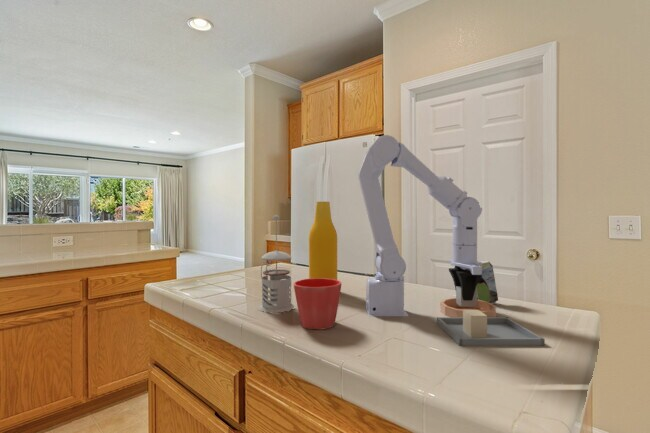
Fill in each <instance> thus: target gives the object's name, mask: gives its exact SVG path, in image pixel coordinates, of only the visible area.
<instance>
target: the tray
mask: <svg viewBox="0 0 650 433" xmlns="http://www.w3.org/2000/svg"><path fill="white" fill-rule="evenodd" d="M436 324H437V325H438V326H439V327H440V328H441V329H442V330H443V331H444V332H445V333H446V334H447V335H448V336H449V337H450V338H451V339H452V340H453V341H454V342H455V343H456V344H457V345H458V346H459V347H484V346H485V347H486V346H487V347H499V346H500V347H507V346H508V347H513V346H514V347H516V346H517V347H522V346H523V347H525V346H526V347H530V346H531V347H534V346H535V347H536V346H537V347H538V346H539V347H541V346H542V347H544V346H545V345H546V344H545V343H546V342H545V338H543V337H542V336H540V335H538V334H537V333H535V332H534V331H531V330H530V329H528V328H527V327H524V326H523V325H521V324H519V323H518V322H516V321H514V320H513V319H511V318H510V317H505V316H504V317H503V316H502V317H500V316H499V317H497V316H496V317H487V338H471V337H470V336H469V335H467V334H466V333H465V332H464V331H463V317H448V316H445V317H441V316H440V317H436Z"/></svg>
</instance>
